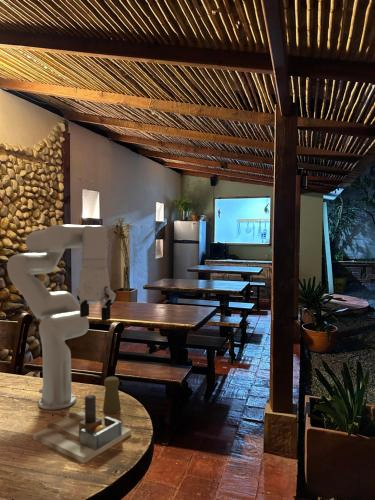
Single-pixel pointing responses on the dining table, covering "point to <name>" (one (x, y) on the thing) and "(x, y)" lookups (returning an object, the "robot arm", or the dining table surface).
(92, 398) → the player block
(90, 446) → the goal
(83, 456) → the lane board
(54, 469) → the dining table surface
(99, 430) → the ball
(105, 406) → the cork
